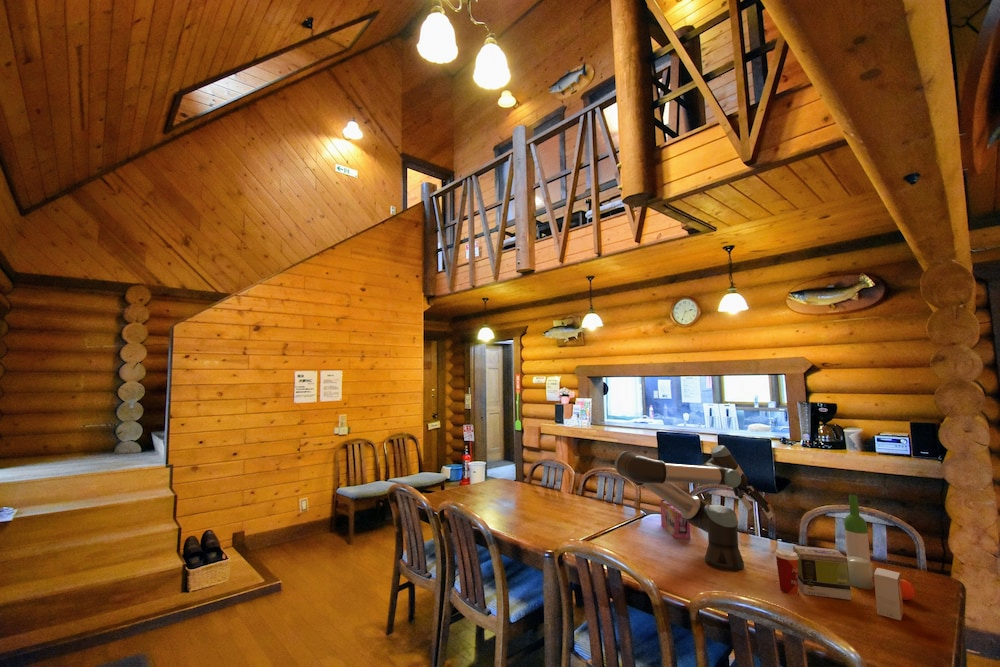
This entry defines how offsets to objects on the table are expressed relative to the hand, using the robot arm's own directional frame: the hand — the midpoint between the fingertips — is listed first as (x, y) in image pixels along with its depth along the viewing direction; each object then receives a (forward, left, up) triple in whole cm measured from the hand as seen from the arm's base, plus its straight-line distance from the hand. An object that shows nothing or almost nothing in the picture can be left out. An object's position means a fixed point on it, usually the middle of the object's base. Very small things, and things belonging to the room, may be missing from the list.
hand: (760, 512), depth 212 cm
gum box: (-24, +33, -17) cm, 44 cm away
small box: (-4, -59, -17) cm, 62 cm away
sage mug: (+9, -39, -17) cm, 44 cm away
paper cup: (-24, -38, -17) cm, 49 cm away
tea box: (-12, -41, -17) cm, 46 cm away
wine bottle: (+23, -27, -17) cm, 39 cm away
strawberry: (+11, -52, -17) cm, 56 cm away
